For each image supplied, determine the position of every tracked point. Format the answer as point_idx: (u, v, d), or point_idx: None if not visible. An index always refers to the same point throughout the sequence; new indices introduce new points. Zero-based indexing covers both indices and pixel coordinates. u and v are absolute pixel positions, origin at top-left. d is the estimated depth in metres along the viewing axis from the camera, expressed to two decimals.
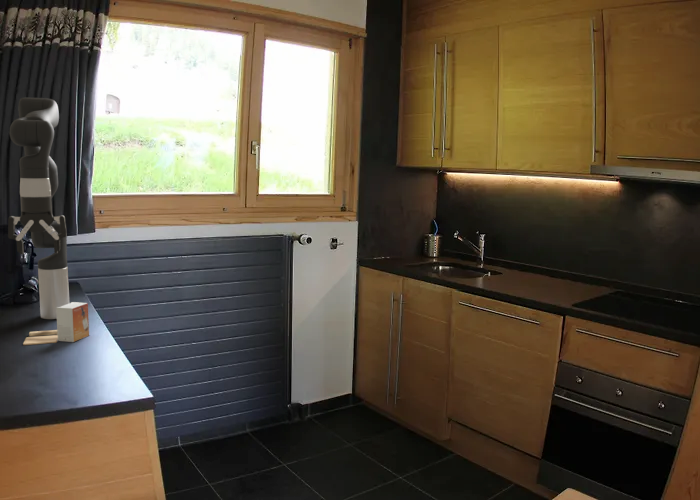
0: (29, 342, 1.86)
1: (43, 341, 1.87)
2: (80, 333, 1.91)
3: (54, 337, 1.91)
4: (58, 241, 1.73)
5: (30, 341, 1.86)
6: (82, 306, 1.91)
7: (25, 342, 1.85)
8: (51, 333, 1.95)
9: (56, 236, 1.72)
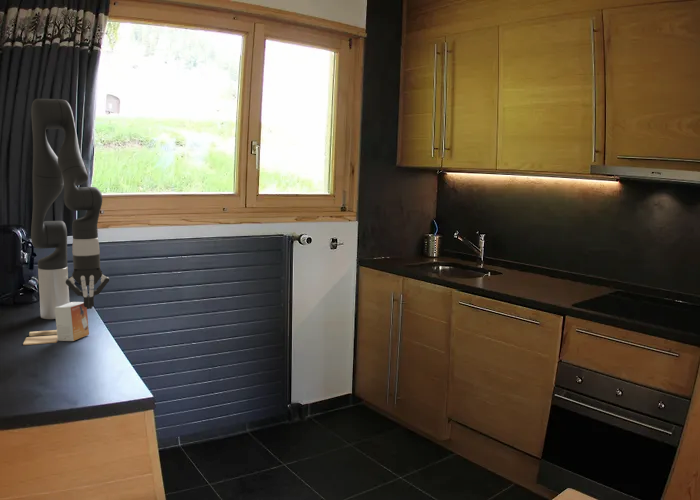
0: (29, 342, 1.86)
1: (43, 341, 1.87)
2: (80, 332, 1.91)
3: (54, 337, 1.91)
4: (92, 298, 1.92)
5: (30, 341, 1.86)
6: (80, 305, 1.91)
7: (25, 342, 1.85)
8: (51, 333, 1.95)
9: (91, 293, 1.91)
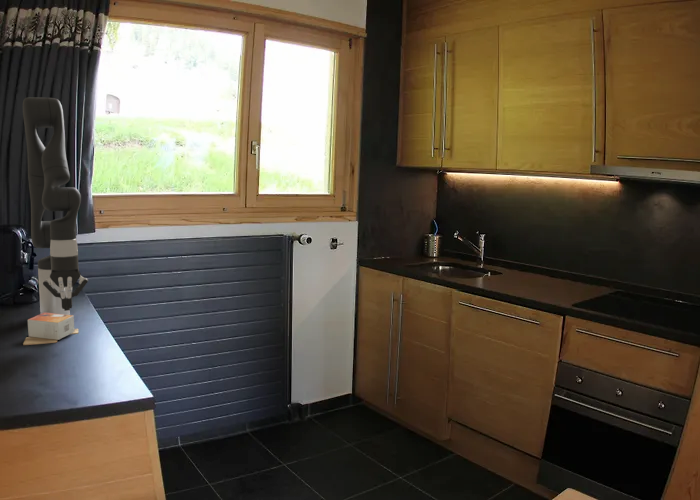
0: (29, 342, 1.86)
1: (43, 341, 1.87)
2: (59, 318, 1.91)
3: None
4: (70, 299, 1.89)
5: (30, 341, 1.86)
6: (39, 314, 1.94)
7: (25, 342, 1.85)
8: None
9: (68, 295, 1.89)
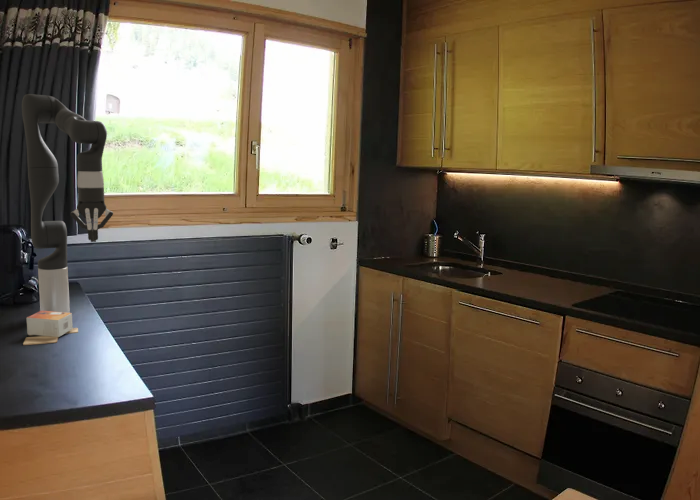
0: (29, 342, 1.86)
1: (43, 341, 1.87)
2: (58, 316, 1.94)
3: (54, 337, 1.91)
4: (96, 231, 1.95)
5: (30, 341, 1.86)
6: (37, 313, 1.96)
7: (25, 342, 1.85)
8: None
9: (95, 226, 1.94)
